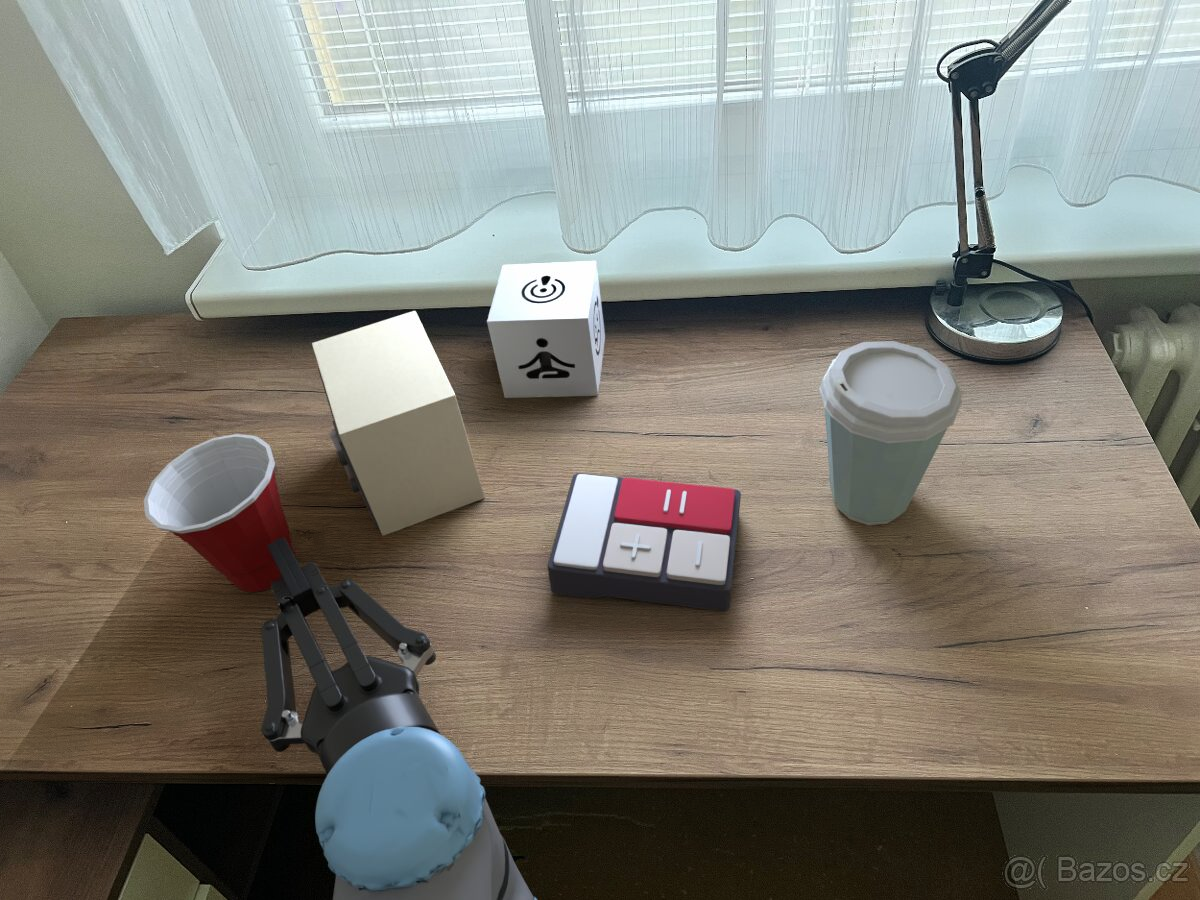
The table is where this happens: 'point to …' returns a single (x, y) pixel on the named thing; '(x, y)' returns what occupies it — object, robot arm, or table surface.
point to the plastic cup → (224, 507)
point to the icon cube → (548, 329)
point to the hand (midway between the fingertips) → (281, 551)
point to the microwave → (397, 423)
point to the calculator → (646, 542)
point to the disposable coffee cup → (884, 425)
